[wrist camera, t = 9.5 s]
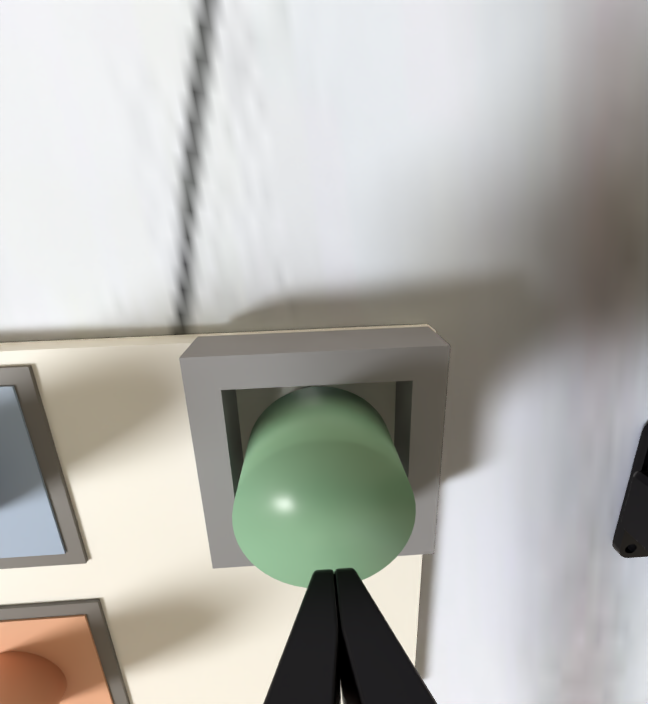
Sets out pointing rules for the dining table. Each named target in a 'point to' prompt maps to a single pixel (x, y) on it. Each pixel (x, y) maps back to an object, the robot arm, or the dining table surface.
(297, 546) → the button
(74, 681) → the cream board with squares
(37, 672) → the terracotta marker
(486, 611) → the dining table surface
